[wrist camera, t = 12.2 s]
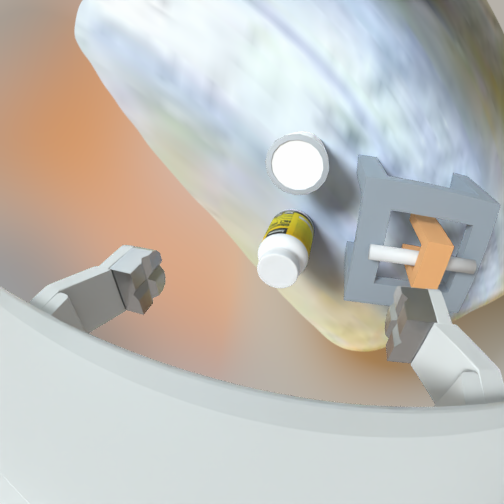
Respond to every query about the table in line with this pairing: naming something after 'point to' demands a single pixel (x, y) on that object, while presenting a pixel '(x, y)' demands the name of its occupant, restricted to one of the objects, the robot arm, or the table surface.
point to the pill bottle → (285, 248)
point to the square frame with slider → (373, 250)
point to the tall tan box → (428, 253)
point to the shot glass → (298, 163)
